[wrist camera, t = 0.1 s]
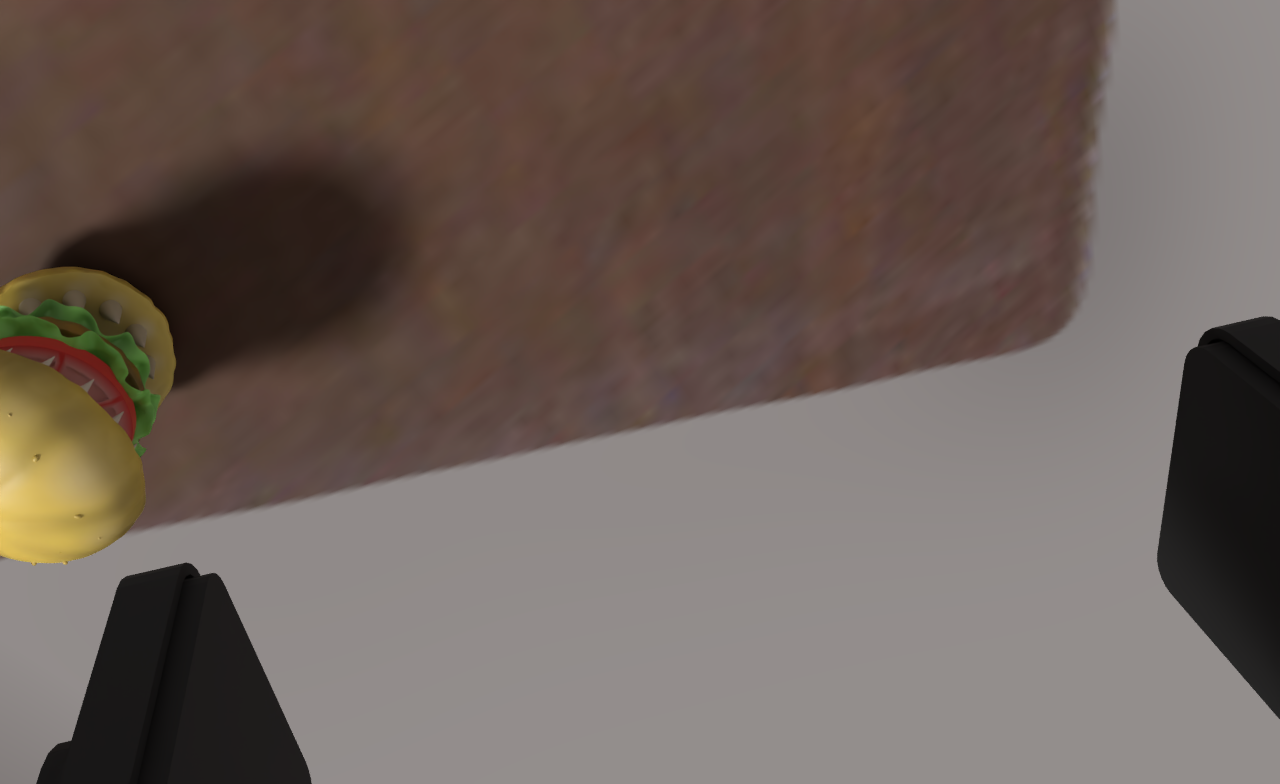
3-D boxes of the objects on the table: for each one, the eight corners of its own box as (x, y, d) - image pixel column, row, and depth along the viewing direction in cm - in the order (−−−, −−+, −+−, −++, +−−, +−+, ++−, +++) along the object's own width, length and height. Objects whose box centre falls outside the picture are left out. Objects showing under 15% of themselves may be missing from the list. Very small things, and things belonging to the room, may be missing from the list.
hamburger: (224, 386, 43) (175, 598, 33) (44, 448, 43) (-59, 678, 33) (120, 208, 39) (28, 390, 29) (-81, 276, 39) (-241, 481, 29)
